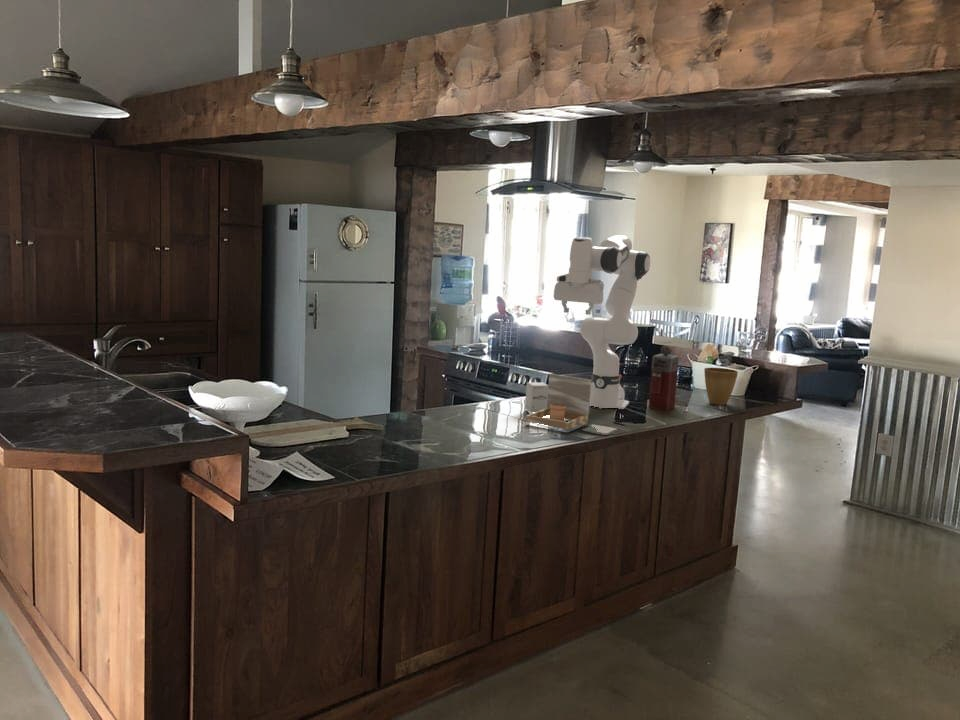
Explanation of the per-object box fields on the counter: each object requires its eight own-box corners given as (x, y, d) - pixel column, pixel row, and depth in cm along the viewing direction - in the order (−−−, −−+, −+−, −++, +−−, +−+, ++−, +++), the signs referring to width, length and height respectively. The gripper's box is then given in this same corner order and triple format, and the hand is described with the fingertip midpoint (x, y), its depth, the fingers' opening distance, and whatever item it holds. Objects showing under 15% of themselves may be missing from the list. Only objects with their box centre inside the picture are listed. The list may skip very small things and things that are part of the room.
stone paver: (592, 426, 304) (592, 424, 304) (616, 431, 299) (616, 428, 299) (581, 431, 295) (581, 429, 295) (606, 435, 290) (606, 433, 290)
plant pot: (739, 407, 353) (742, 373, 350) (706, 406, 353) (709, 371, 350) (729, 401, 367) (732, 367, 365) (697, 399, 368) (700, 366, 365)
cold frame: (547, 417, 317) (550, 373, 314) (588, 424, 308) (591, 379, 305) (525, 425, 301) (528, 379, 298) (567, 433, 292) (570, 386, 289)
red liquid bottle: (646, 408, 343) (651, 345, 339) (655, 404, 353) (660, 343, 348) (665, 411, 339) (670, 347, 334) (674, 407, 348) (679, 345, 344)
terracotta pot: (553, 422, 308) (554, 402, 307) (567, 425, 305) (568, 405, 304) (546, 425, 303) (547, 405, 302) (560, 427, 300) (561, 407, 299)
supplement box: (530, 415, 319) (532, 385, 317) (524, 411, 326) (526, 381, 324) (547, 415, 321) (549, 385, 319) (541, 411, 328) (542, 381, 326)
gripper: (607, 280, 303) (604, 315, 305) (560, 276, 314) (557, 311, 316) (600, 280, 298) (598, 316, 300) (553, 276, 309) (550, 311, 310)
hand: (577, 313), depth 308 cm, fingers open, 8 cm apart
